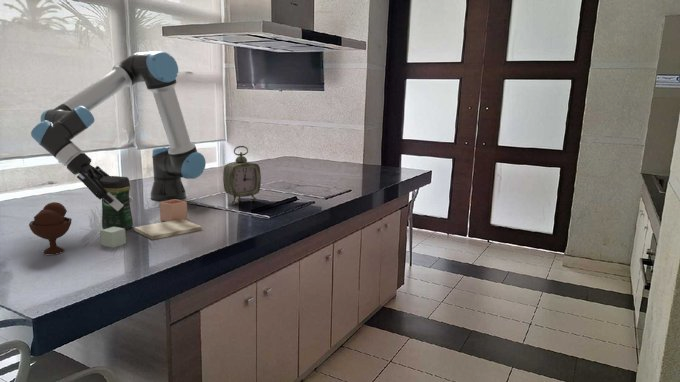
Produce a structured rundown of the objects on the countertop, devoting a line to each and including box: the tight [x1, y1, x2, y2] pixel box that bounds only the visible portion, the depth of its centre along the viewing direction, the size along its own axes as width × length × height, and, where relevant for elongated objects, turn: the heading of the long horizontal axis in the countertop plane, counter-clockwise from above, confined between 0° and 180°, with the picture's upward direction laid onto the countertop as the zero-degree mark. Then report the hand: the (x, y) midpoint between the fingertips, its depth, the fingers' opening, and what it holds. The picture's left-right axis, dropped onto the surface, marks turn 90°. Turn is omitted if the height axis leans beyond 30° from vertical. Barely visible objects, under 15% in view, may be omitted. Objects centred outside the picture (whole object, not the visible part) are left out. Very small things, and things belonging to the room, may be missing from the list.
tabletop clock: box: [222, 145, 262, 206], centre depth 214 cm, size 14×9×25 cm, turn 131°
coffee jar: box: [99, 175, 134, 230], centre depth 171 cm, size 10×8×19 cm
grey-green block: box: [99, 227, 127, 248], centre depth 154 cm, size 5×5×5 cm
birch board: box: [133, 219, 203, 241], centre depth 171 cm, size 18×14×1 cm
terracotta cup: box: [159, 199, 189, 222], centre depth 185 cm, size 7×7×7 cm
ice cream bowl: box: [28, 201, 72, 255], centre depth 145 cm, size 11×11×15 cm
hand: (125, 205), depth 172 cm, fingers open, 9 cm apart
